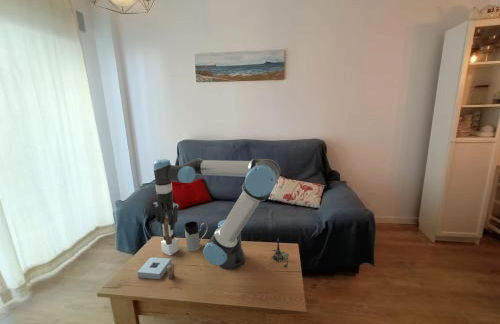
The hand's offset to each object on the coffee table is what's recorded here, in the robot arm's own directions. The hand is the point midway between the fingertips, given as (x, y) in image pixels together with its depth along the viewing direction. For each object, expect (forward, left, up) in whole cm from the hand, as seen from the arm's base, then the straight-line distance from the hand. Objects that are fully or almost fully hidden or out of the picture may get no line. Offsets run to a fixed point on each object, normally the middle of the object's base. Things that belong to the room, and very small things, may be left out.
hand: (168, 234), depth 121 cm
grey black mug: (-6, -21, -20) cm, 30 cm away
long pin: (0, 0, -5) cm, 5 cm away
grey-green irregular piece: (-55, -14, -20) cm, 61 cm away
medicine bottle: (+8, -14, -20) cm, 26 cm away
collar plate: (+8, +3, -20) cm, 21 cm away
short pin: (-3, +7, -20) cm, 21 cm away
